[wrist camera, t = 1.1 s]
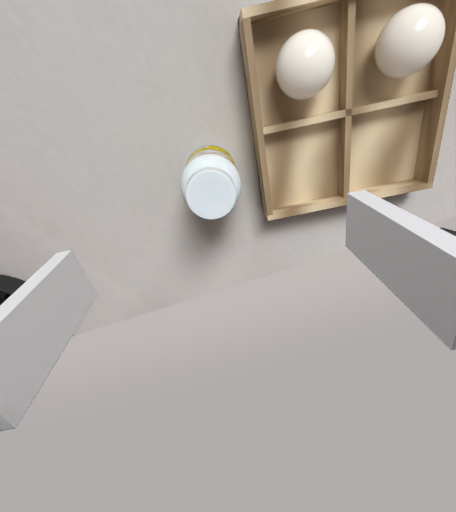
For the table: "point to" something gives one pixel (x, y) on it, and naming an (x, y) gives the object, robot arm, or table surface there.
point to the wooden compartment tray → (342, 107)
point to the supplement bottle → (210, 182)
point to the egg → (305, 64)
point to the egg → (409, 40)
